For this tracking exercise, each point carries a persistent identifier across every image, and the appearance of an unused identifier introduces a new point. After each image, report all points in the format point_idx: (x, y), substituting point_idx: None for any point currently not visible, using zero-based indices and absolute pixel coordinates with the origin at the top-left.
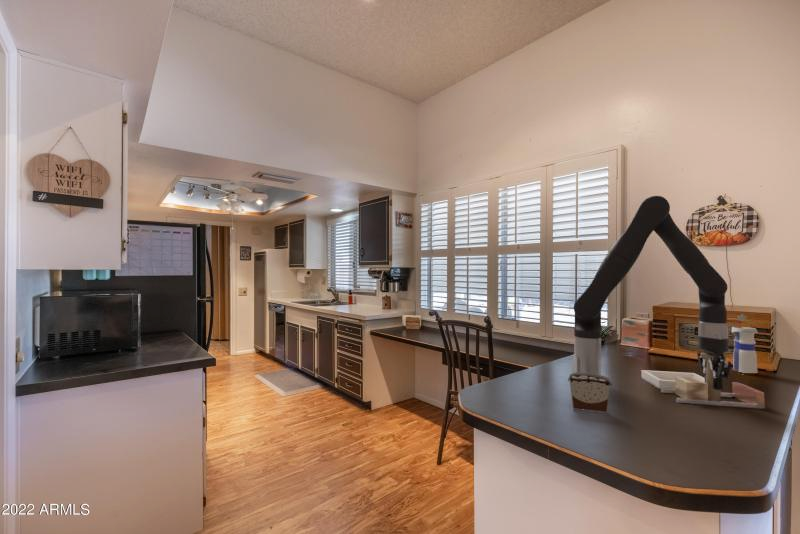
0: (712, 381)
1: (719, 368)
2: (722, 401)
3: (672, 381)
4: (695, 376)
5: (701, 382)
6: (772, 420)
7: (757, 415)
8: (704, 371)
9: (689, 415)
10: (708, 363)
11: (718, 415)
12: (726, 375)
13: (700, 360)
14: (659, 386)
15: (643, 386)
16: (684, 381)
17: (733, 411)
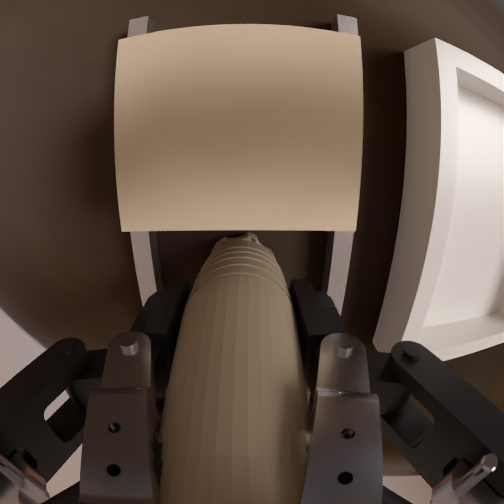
0: (185, 307)
1: (3, 407)
2: (143, 262)
3: (438, 119)
4: (499, 328)
5: (148, 189)
6: (44, 326)
7: (70, 315)
8: (338, 351)
9: (3, 52)
10: (203, 476)
11: (12, 156)
12: (66, 401)
13: (466, 428)
14: (412, 50)
15: (425, 8)
16: (160, 32)
17: (75, 251)
